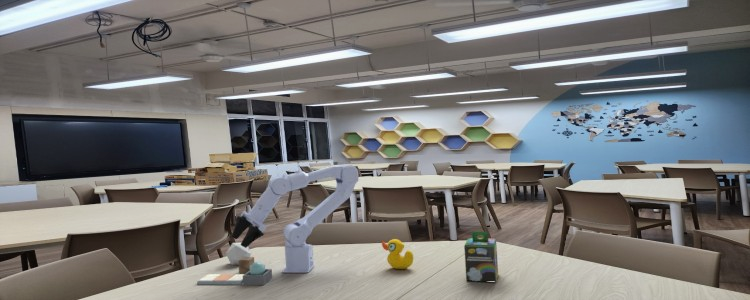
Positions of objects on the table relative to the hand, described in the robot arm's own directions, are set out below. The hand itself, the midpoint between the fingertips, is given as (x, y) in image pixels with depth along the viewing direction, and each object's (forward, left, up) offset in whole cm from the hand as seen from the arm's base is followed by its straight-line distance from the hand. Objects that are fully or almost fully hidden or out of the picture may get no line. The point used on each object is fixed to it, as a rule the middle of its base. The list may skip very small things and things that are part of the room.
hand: (238, 242), depth 146 cm
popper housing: (-7, +2, -12) cm, 15 cm away
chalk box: (-79, -1, -13) cm, 80 cm away
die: (+9, -18, -13) cm, 24 cm away
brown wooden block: (+1, -7, -12) cm, 14 cm away
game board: (+5, +2, -12) cm, 13 cm away
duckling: (-52, -11, -13) cm, 55 cm away
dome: (-7, +2, -10) cm, 13 cm away
